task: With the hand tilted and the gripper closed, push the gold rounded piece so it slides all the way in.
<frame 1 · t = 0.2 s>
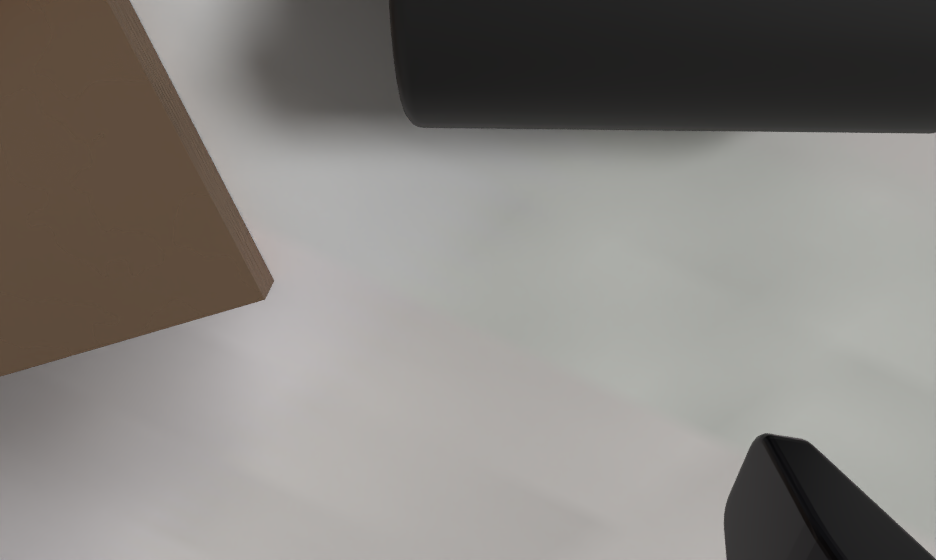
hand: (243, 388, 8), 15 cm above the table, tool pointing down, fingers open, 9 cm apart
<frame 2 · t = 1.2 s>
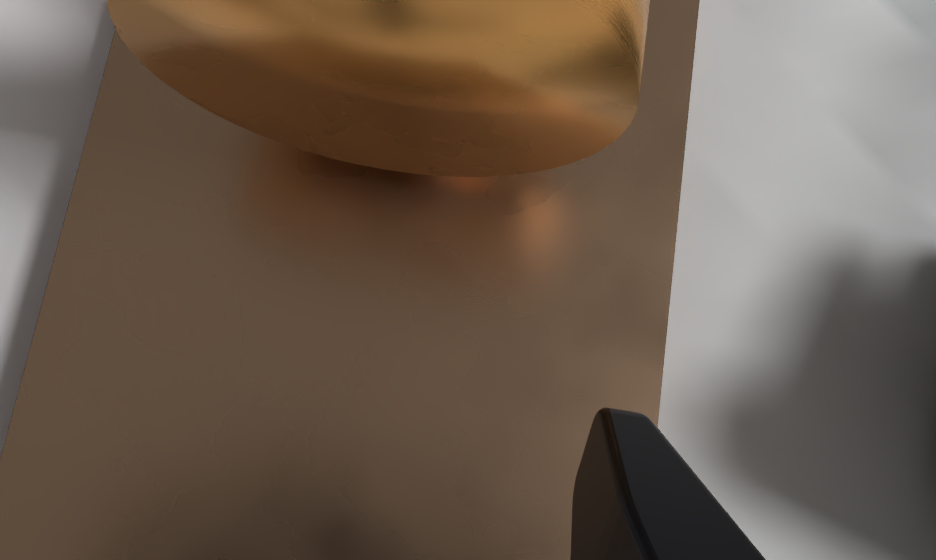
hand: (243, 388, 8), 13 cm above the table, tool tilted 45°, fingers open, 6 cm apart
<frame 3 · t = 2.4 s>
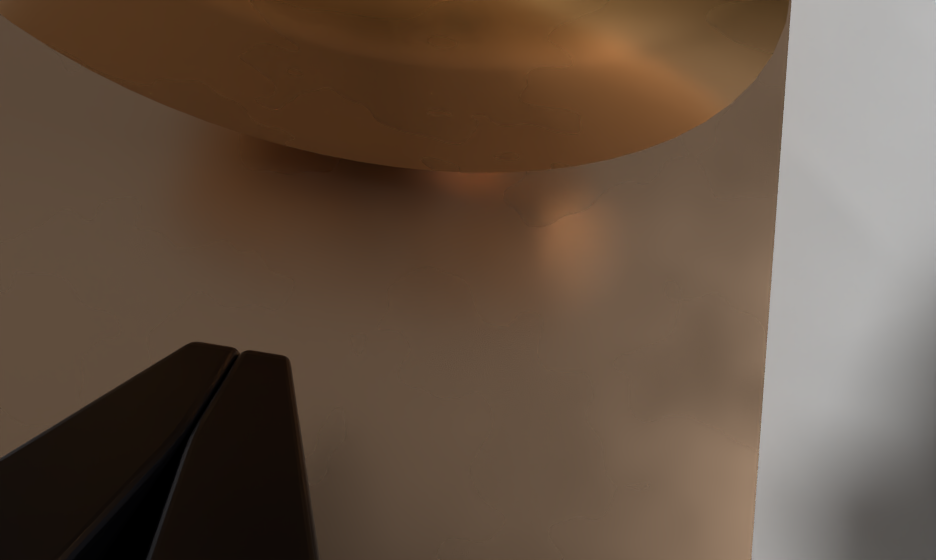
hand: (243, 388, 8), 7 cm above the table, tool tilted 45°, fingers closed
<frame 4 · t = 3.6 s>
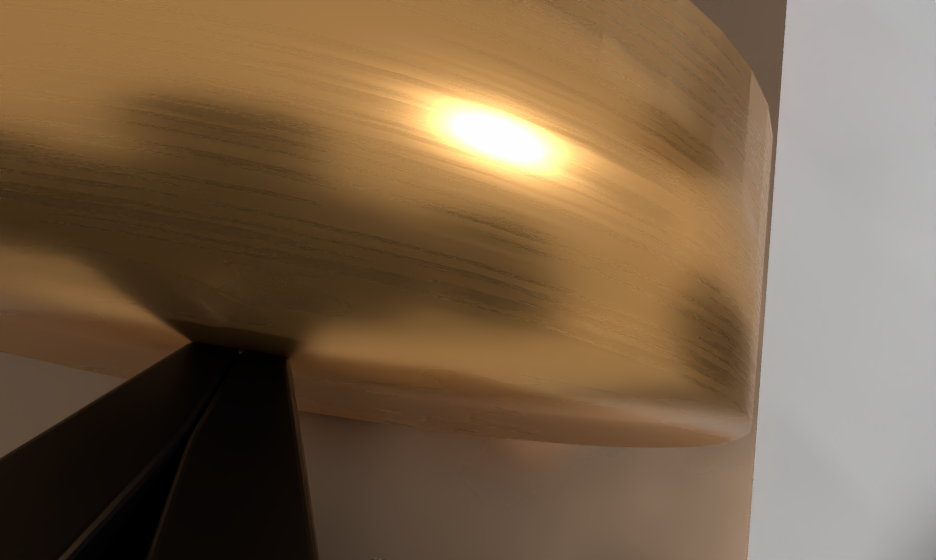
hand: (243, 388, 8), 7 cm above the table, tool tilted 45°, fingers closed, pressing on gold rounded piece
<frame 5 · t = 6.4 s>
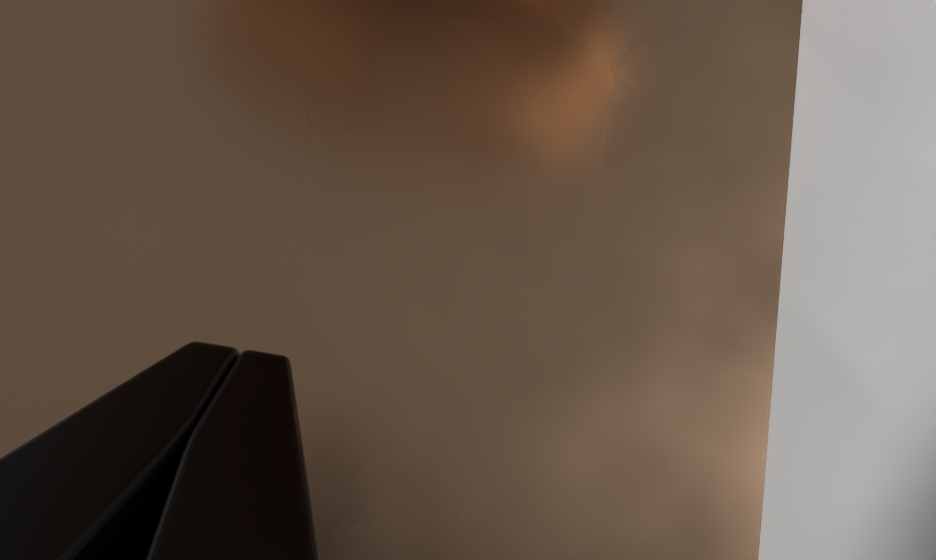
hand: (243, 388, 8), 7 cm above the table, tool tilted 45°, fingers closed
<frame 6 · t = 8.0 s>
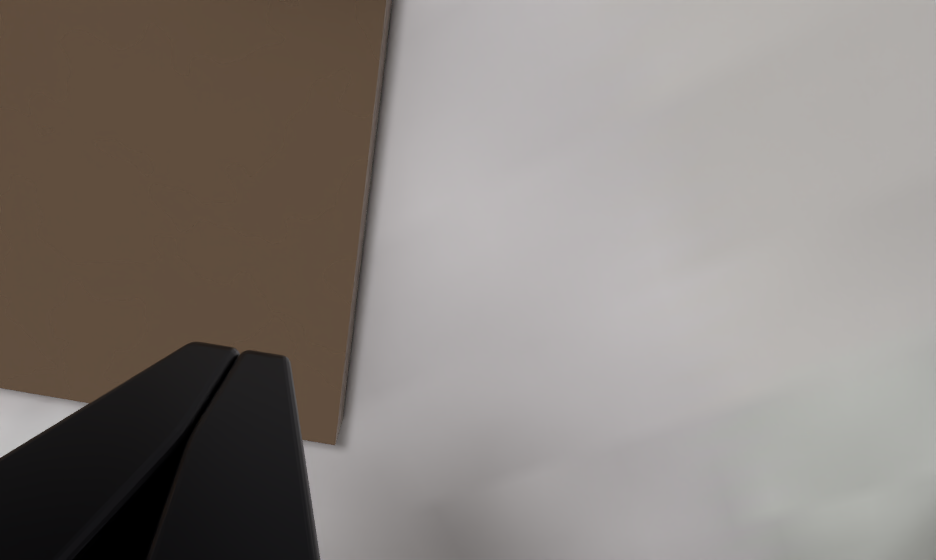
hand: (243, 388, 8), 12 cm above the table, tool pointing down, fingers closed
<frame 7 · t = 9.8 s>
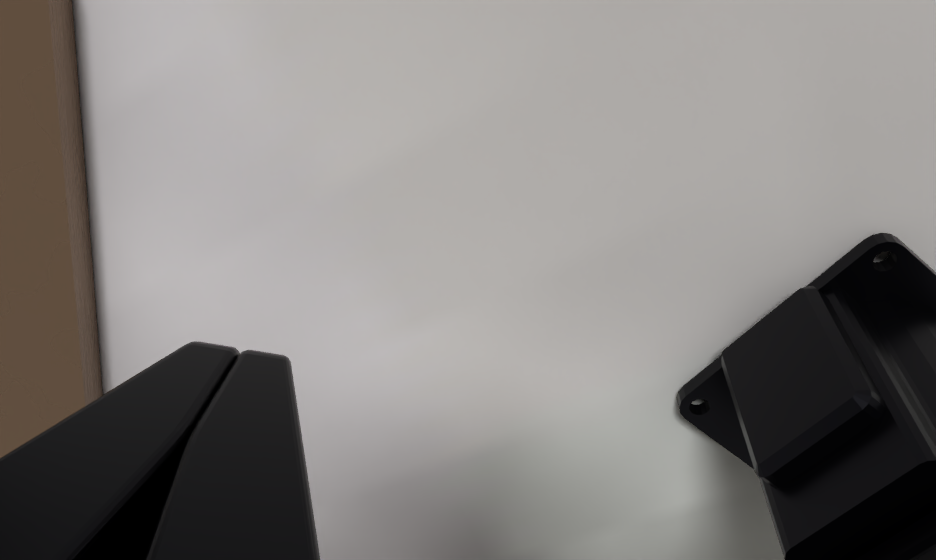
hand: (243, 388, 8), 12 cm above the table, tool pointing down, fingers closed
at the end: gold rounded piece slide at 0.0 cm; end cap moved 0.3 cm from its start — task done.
